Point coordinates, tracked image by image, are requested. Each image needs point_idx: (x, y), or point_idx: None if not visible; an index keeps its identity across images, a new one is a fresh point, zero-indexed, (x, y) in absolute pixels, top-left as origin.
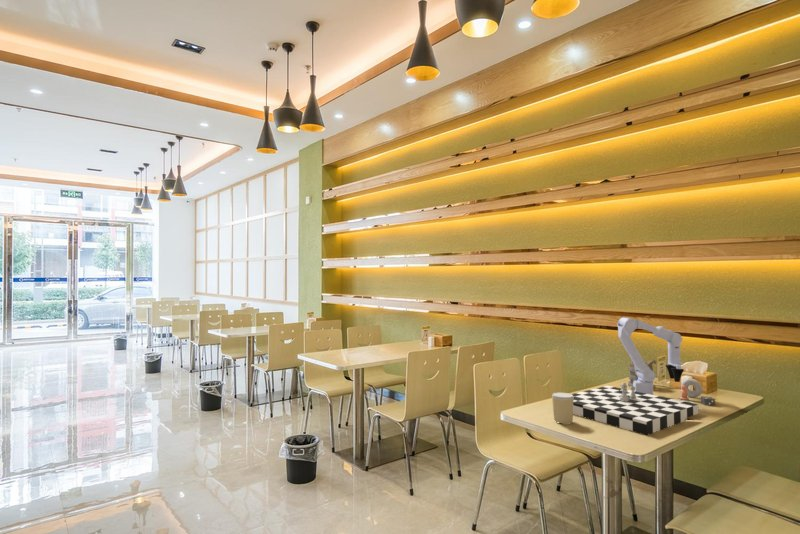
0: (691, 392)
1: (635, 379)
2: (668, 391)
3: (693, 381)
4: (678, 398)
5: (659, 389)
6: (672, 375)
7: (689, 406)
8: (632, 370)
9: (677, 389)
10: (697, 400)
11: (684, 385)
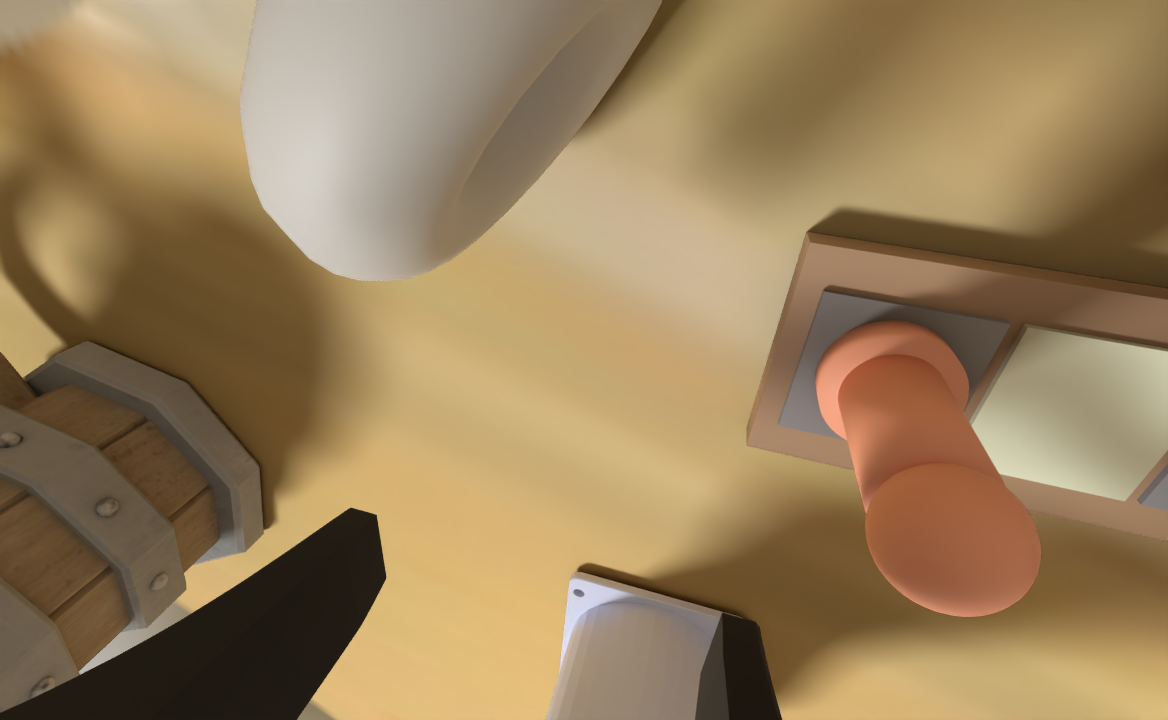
0: (569, 97)
1: (175, 599)
2: (268, 267)
3: (500, 73)
4: (808, 430)
5: (206, 328)
6: (325, 615)
7: None
8: None
9: (72, 59)
10: (803, 68)
11: (1007, 604)
